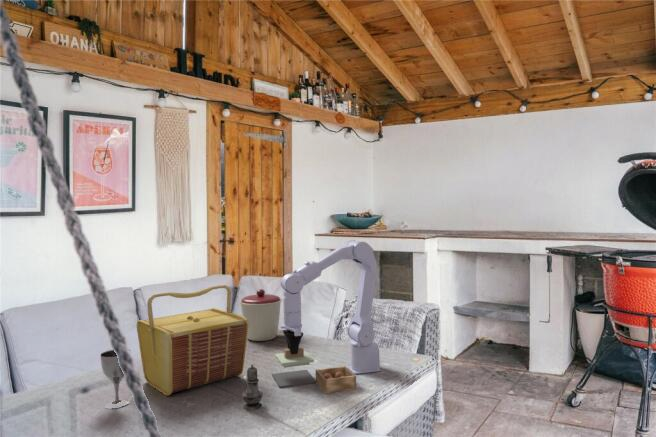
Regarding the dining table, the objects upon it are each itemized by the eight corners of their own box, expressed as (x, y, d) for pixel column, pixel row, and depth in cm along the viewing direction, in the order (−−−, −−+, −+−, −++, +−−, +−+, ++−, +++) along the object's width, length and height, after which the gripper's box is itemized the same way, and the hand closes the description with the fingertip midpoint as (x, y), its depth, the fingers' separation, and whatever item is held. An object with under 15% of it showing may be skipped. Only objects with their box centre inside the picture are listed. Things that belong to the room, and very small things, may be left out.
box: (345, 378, 162) (345, 366, 162) (356, 389, 153) (356, 376, 152) (315, 382, 159) (315, 369, 159) (325, 393, 150) (324, 380, 149)
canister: (291, 338, 213) (290, 288, 212) (256, 346, 200) (255, 294, 200) (266, 330, 226) (265, 284, 225) (232, 338, 214) (230, 289, 213)
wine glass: (113, 412, 139) (111, 358, 138) (96, 406, 143) (94, 354, 142) (137, 402, 145) (136, 351, 145) (120, 397, 150) (119, 347, 149)
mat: (306, 371, 170) (306, 369, 170) (316, 383, 158) (316, 381, 158) (272, 375, 166) (271, 373, 166) (279, 388, 154) (279, 386, 154)
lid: (305, 355, 168) (305, 343, 168) (313, 365, 159) (313, 351, 158) (275, 359, 165) (274, 346, 165) (281, 368, 155) (281, 355, 155)
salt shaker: (259, 411, 138) (258, 368, 137) (239, 409, 139) (238, 367, 138) (266, 402, 143) (265, 361, 143) (246, 401, 144) (245, 360, 144)
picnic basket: (167, 403, 144) (164, 300, 143) (134, 381, 163) (131, 290, 162) (253, 379, 163) (251, 288, 162) (214, 361, 182) (212, 280, 182)
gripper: (275, 307, 167) (276, 348, 167) (285, 316, 153) (286, 360, 154) (296, 306, 169) (296, 345, 170) (307, 315, 155) (308, 358, 156)
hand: (293, 352), depth 162 cm, fingers closed on lid, 2 cm apart
